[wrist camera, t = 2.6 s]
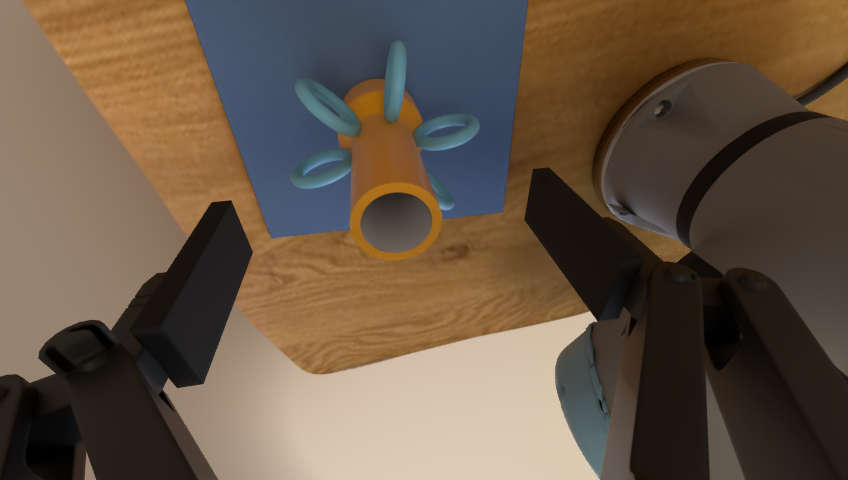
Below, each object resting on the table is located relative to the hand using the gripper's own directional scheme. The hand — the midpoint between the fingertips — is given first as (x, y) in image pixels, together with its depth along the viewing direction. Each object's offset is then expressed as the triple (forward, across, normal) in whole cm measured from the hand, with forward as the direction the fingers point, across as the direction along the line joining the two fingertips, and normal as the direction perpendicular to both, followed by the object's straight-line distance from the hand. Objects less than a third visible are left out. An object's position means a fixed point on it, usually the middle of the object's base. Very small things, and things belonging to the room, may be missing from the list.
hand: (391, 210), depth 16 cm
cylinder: (+14, 0, 0) cm, 14 cm away
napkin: (+14, 0, 0) cm, 14 cm away
